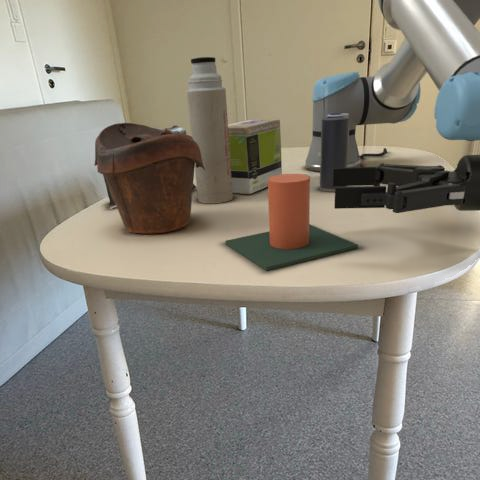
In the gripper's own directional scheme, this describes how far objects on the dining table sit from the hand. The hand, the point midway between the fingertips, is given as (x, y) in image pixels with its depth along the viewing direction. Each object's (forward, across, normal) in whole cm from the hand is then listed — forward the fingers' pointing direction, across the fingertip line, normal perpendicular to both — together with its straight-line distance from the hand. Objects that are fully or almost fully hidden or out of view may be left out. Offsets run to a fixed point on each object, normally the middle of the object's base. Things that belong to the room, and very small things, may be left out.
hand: (333, 186), depth 66 cm
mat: (+7, 0, -9) cm, 11 cm away
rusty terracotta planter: (+42, +35, -9) cm, 55 cm away
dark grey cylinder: (-1, +39, -9) cm, 40 cm away
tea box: (+19, +44, -9) cm, 48 cm away
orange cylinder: (+7, 0, -8) cm, 11 cm away
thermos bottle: (+26, +32, -9) cm, 42 cm away
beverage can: (-2, +52, -9) cm, 53 cm away
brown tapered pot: (+32, +12, -9) cm, 36 cm away
